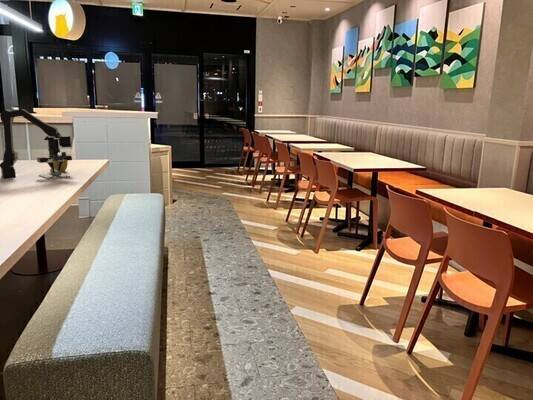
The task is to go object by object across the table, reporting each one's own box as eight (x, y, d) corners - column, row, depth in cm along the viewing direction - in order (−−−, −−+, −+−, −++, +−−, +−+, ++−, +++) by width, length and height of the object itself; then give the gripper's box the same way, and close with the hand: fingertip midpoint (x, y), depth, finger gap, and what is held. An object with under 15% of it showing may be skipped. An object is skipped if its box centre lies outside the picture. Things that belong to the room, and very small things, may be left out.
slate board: (47, 179, 259) (47, 178, 259) (39, 175, 269) (39, 174, 269) (70, 176, 268) (69, 175, 268) (60, 173, 278) (60, 172, 278)
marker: (57, 175, 265) (56, 171, 264) (49, 173, 273) (49, 169, 273) (61, 175, 266) (61, 171, 266) (54, 172, 275) (53, 168, 274)
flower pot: (56, 172, 280) (54, 159, 278) (49, 171, 286) (48, 157, 283) (69, 171, 287) (68, 157, 285) (62, 169, 292) (61, 156, 290)
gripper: (41, 149, 253) (44, 176, 257) (74, 147, 266) (76, 172, 269) (35, 148, 261) (38, 173, 264) (67, 146, 274) (69, 170, 277)
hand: (56, 172), depth 269 cm, fingers closed on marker, 2 cm apart
